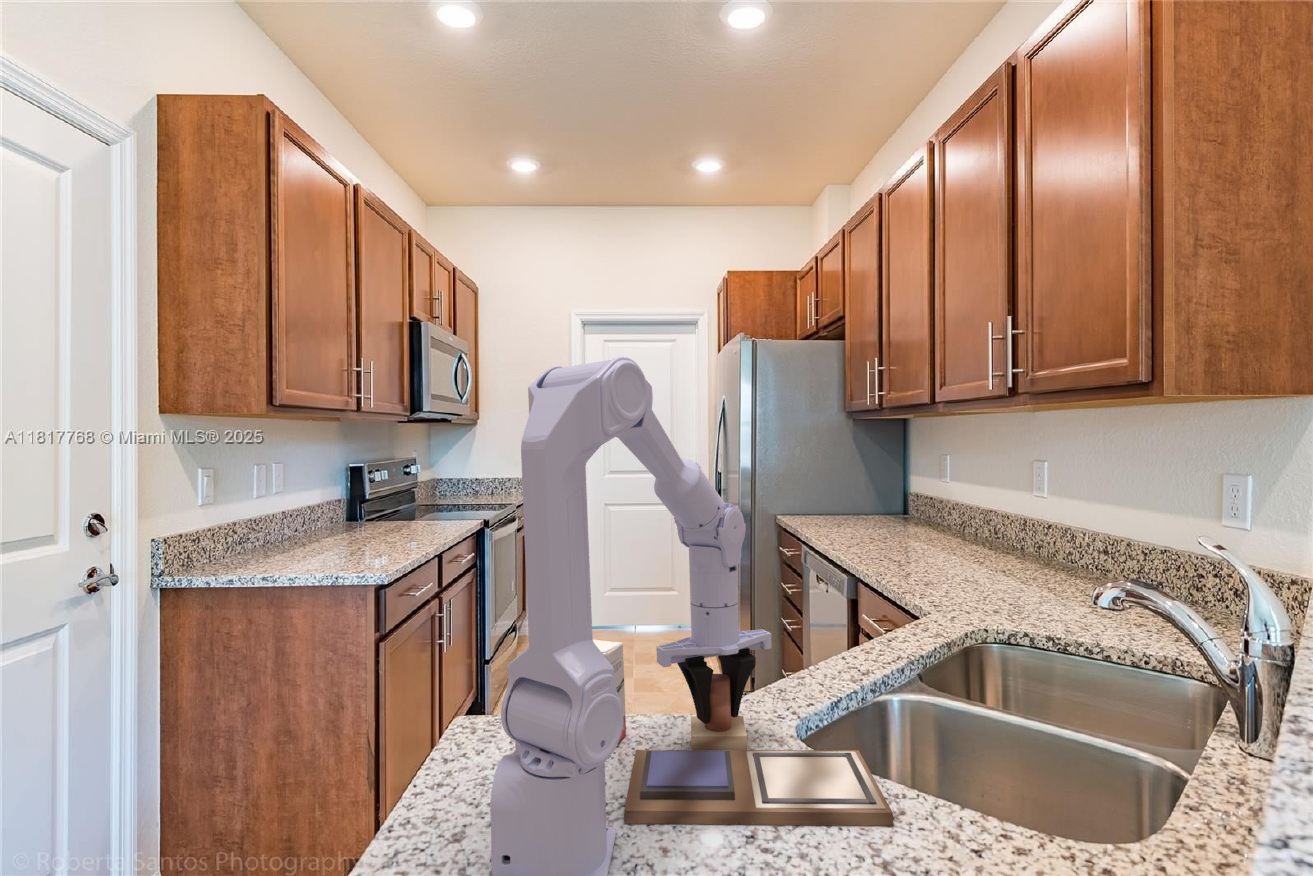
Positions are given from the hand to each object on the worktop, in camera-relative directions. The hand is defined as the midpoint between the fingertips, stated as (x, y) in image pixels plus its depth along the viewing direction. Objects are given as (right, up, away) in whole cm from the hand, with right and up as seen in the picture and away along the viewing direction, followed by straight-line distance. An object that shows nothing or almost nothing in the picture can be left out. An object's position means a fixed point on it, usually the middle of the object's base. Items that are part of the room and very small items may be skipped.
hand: (717, 717), depth 73 cm
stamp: (0, -3, 0) cm, 3 cm away
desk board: (+3, -3, -10) cm, 11 cm away
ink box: (-16, -4, +3) cm, 17 cm away
